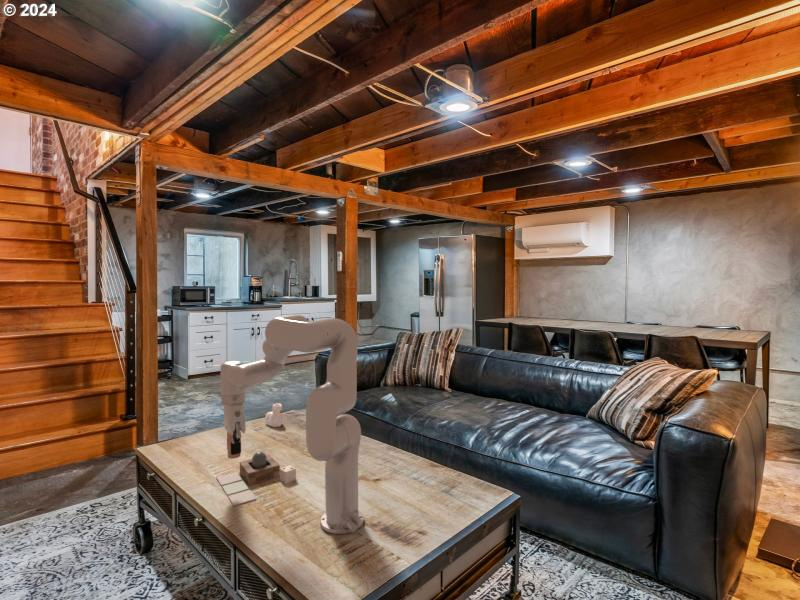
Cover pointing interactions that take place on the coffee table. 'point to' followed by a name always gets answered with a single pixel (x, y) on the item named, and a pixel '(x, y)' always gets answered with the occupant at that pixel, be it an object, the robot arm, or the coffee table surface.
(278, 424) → the bust
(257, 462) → the dome
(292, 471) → the die
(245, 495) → the tile strip
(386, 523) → the coffee table surface
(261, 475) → the frame
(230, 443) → the brown rounded cylinder piece
